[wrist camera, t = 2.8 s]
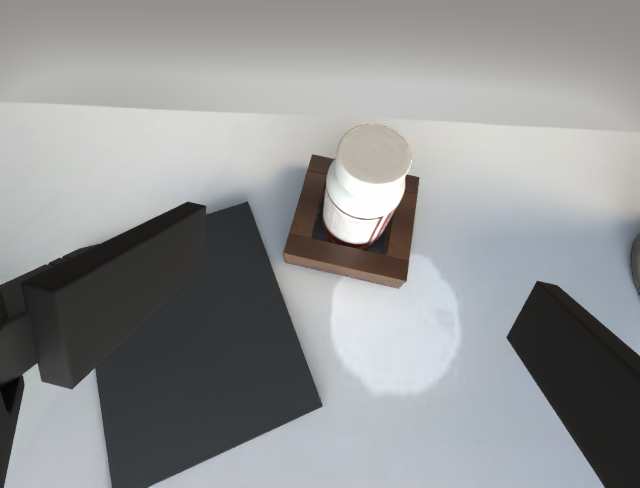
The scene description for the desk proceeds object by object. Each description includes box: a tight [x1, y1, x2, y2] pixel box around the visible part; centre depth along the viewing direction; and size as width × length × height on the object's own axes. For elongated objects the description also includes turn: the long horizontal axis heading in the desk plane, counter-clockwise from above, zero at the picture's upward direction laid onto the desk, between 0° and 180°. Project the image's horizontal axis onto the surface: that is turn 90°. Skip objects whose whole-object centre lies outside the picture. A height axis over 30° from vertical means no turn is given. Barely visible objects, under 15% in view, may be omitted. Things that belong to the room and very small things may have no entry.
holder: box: [284, 155, 419, 288], centre depth 30 cm, size 11×11×2 cm
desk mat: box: [95, 202, 322, 488], centre depth 27 cm, size 20×16×1 cm
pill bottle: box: [322, 124, 412, 250], centre depth 26 cm, size 6×6×11 cm
